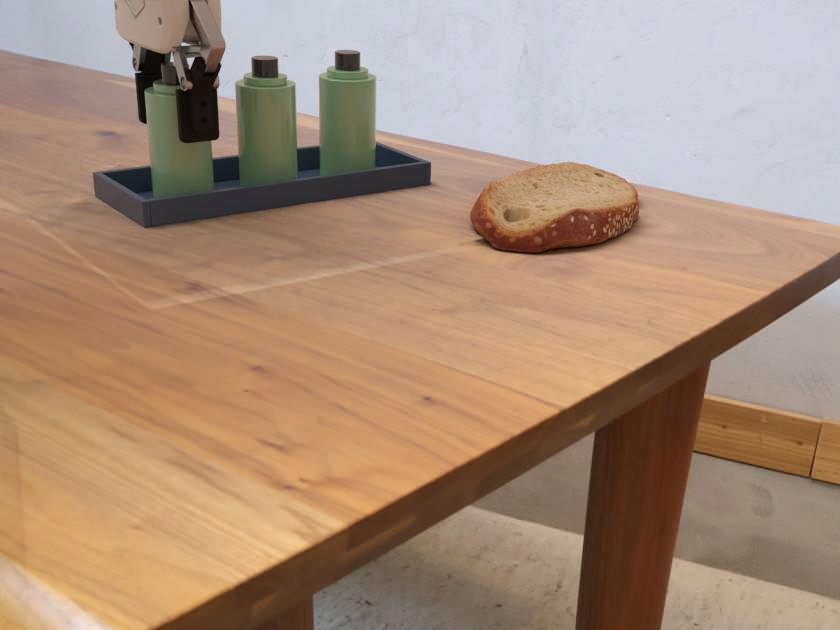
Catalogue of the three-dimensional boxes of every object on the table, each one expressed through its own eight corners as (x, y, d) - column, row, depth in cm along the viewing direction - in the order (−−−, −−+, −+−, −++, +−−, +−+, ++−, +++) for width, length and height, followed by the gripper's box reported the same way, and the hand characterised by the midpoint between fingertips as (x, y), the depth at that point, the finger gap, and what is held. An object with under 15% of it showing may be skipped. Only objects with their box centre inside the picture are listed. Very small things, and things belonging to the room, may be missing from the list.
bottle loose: (168, 213, 92) (158, 71, 87) (143, 198, 96) (131, 61, 91) (225, 205, 95) (218, 66, 90) (198, 190, 99) (190, 57, 93)
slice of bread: (601, 184, 108) (605, 144, 106) (701, 241, 93) (707, 196, 91) (420, 195, 102) (421, 153, 101) (495, 257, 87) (498, 209, 86)
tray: (145, 235, 89) (142, 202, 88) (95, 203, 96) (92, 172, 95) (430, 191, 104) (431, 162, 103) (369, 166, 111) (369, 138, 110)
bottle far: (338, 188, 101) (337, 58, 96) (309, 175, 104) (307, 49, 99) (386, 181, 104) (387, 54, 99) (356, 169, 107) (356, 45, 102)
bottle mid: (257, 200, 97) (251, 64, 91) (229, 186, 100) (223, 54, 95) (308, 193, 99) (306, 60, 94) (280, 179, 103) (276, 51, 98)
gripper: (68, -122, 88) (92, 114, 97) (162, -109, 76) (181, 159, 85) (160, -120, 93) (176, 107, 101) (263, -108, 80) (272, 149, 89)
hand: (178, 129), depth 93 cm, fingers open, 7 cm apart
